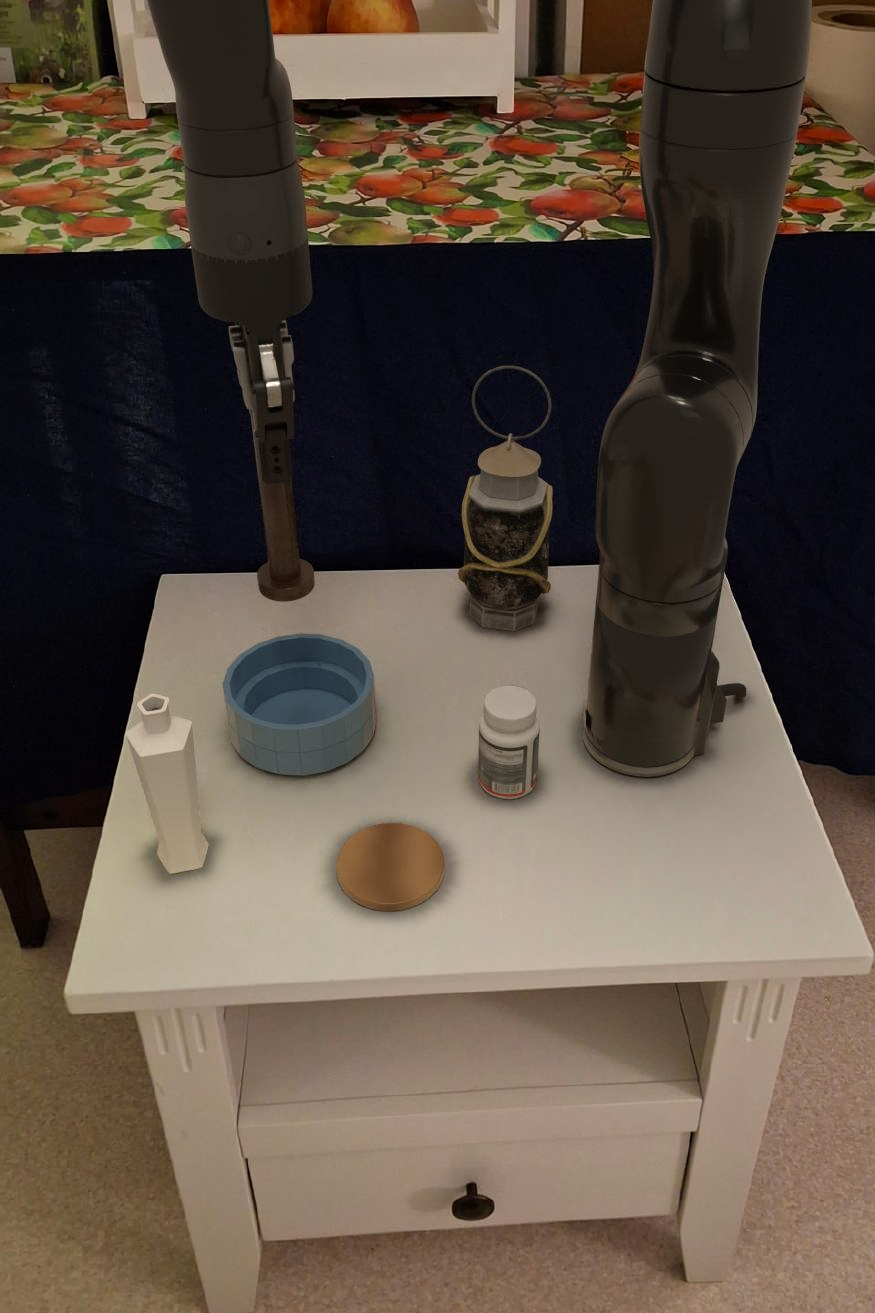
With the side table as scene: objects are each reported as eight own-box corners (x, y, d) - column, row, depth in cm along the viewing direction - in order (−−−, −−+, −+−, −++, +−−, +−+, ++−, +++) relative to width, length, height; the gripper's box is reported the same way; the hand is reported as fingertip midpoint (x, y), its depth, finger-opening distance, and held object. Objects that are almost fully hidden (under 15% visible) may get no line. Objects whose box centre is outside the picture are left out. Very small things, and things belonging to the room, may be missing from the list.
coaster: (430, 821, 94) (430, 814, 94) (456, 900, 88) (456, 892, 88) (328, 840, 93) (328, 832, 93) (347, 920, 87) (346, 913, 86)
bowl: (361, 673, 109) (358, 624, 105) (388, 765, 99) (386, 715, 96) (223, 694, 106) (216, 645, 103) (238, 791, 97) (231, 740, 94)
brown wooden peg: (310, 566, 97) (293, 391, 88) (319, 597, 94) (302, 418, 84) (255, 574, 97) (232, 398, 87) (262, 605, 93) (239, 426, 84)
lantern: (556, 592, 118) (572, 350, 102) (542, 642, 112) (557, 393, 96) (468, 581, 120) (470, 341, 104) (450, 630, 113) (449, 382, 98)
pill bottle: (507, 751, 101) (510, 673, 95) (549, 781, 98) (554, 701, 93) (465, 779, 98) (466, 700, 93) (507, 810, 95) (510, 730, 90)
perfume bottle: (140, 868, 91) (104, 717, 82) (171, 828, 94) (140, 678, 85) (193, 885, 90) (164, 734, 80) (223, 844, 93) (197, 694, 83)
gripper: (324, 266, 73) (342, 512, 84) (291, 194, 84) (311, 420, 95) (199, 278, 72) (233, 527, 83) (182, 203, 83) (214, 432, 94)
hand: (274, 469), depth 89 cm, fingers closed on brown wooden peg, 2 cm apart
